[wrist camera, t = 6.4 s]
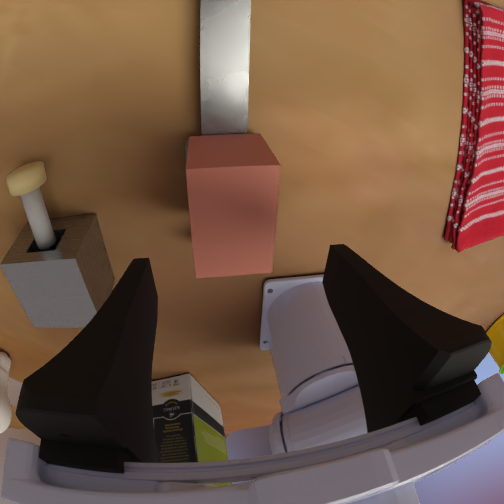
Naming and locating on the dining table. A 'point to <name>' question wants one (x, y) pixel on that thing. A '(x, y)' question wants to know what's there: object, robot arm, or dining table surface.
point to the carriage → (232, 203)
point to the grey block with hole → (61, 273)
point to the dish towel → (480, 132)
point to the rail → (224, 66)
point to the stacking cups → (497, 342)
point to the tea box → (187, 423)
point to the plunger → (33, 200)
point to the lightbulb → (4, 392)
